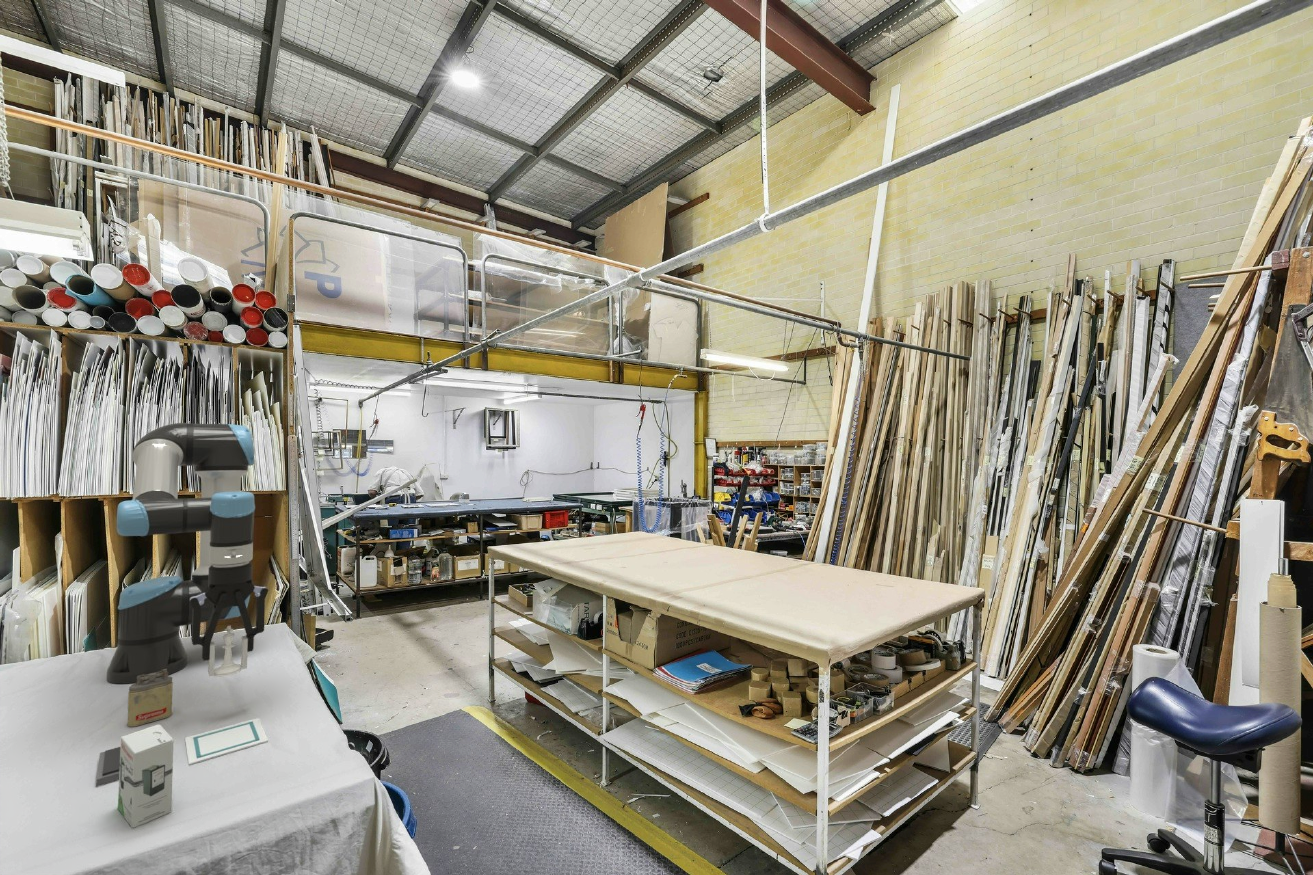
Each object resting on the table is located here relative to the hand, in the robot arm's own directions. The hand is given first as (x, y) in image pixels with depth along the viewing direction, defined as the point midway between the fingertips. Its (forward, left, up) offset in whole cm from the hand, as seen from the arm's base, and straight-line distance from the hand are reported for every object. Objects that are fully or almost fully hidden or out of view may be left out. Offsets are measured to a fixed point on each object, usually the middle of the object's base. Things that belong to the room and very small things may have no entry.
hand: (227, 669), depth 118 cm
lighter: (-9, -12, -10) cm, 18 cm away
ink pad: (+10, -15, -10) cm, 20 cm away
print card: (+12, -1, -10) cm, 15 cm away
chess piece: (0, 0, -1) cm, 1 cm away
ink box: (+29, -13, -10) cm, 33 cm away
